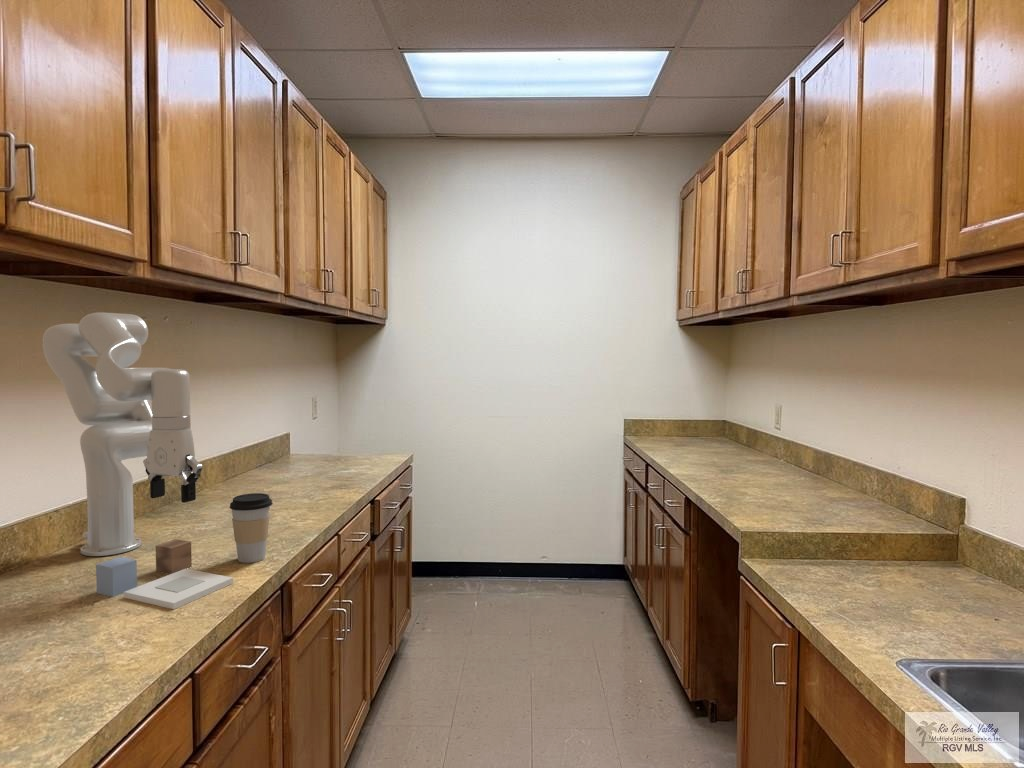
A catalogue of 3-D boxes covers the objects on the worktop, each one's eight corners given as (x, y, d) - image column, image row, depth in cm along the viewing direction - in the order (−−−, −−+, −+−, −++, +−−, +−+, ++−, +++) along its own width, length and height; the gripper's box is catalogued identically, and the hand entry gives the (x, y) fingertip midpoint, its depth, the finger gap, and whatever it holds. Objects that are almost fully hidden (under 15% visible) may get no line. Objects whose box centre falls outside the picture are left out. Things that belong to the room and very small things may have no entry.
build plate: (124, 597, 117) (123, 591, 117) (186, 573, 130) (185, 567, 130) (173, 609, 112) (173, 602, 112) (233, 583, 125) (233, 577, 125)
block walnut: (156, 571, 132) (155, 545, 131) (176, 564, 136) (175, 539, 136) (171, 574, 130) (171, 548, 130) (191, 567, 134) (191, 541, 134)
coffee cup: (232, 554, 143) (231, 494, 142) (273, 550, 146) (273, 491, 146) (228, 567, 134) (227, 503, 133) (272, 563, 137) (271, 500, 137)
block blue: (96, 593, 120) (95, 564, 119) (120, 584, 124) (120, 556, 124) (113, 597, 118) (112, 567, 118) (137, 588, 122) (136, 559, 122)
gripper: (128, 423, 131) (130, 499, 132) (184, 428, 125) (185, 507, 126) (159, 420, 138) (161, 492, 139) (214, 424, 132) (215, 499, 133)
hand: (173, 499), depth 132 cm, fingers open, 9 cm apart
